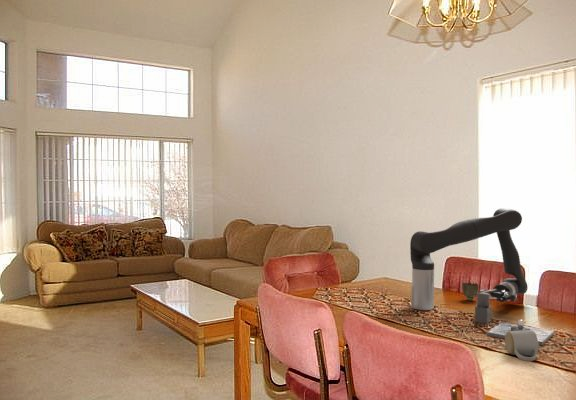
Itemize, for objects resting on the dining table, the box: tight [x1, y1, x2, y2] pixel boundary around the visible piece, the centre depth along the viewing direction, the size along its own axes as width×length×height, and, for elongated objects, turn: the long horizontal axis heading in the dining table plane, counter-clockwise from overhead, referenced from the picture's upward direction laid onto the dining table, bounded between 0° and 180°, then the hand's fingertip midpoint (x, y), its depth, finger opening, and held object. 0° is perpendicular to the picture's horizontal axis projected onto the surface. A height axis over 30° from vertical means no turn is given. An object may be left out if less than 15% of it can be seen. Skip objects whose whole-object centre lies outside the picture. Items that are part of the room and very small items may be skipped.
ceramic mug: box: [504, 330, 540, 362], centre depth 159 cm, size 11×8×8 cm
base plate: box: [486, 319, 555, 346], centre depth 183 cm, size 18×18×5 cm
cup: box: [461, 281, 479, 302], centre depth 241 cm, size 8×7×8 cm
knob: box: [474, 292, 492, 325], centre depth 201 cm, size 5×5×11 cm
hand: (492, 297), depth 210 cm, fingers open, 8 cm apart
